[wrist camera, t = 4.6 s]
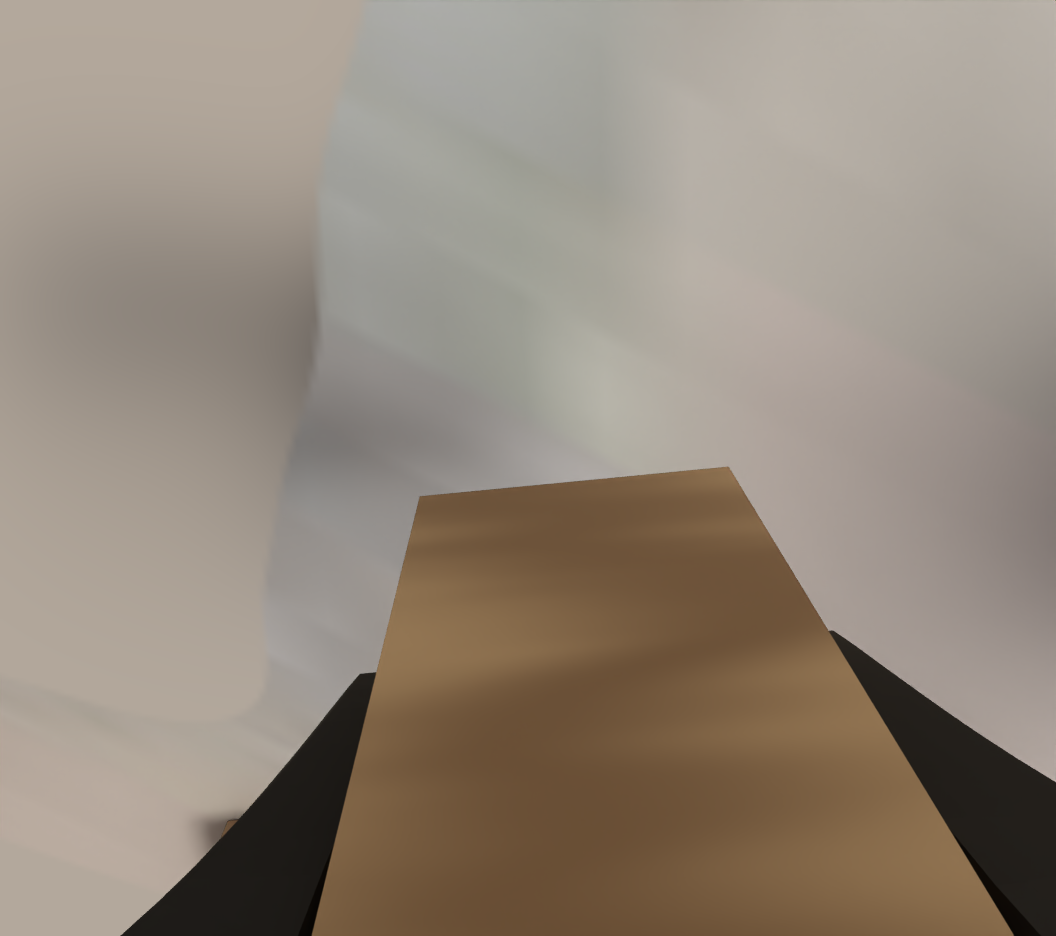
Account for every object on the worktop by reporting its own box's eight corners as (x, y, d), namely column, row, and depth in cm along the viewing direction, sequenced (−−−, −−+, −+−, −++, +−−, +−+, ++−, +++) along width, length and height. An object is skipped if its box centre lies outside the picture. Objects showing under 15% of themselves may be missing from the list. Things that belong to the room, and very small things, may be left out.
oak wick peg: (728, 466, 12) (1104, 1087, 4) (733, 723, 13) (1020, 1522, 6) (419, 496, 12) (258, 1155, 4) (457, 748, 13) (386, 1565, 6)
